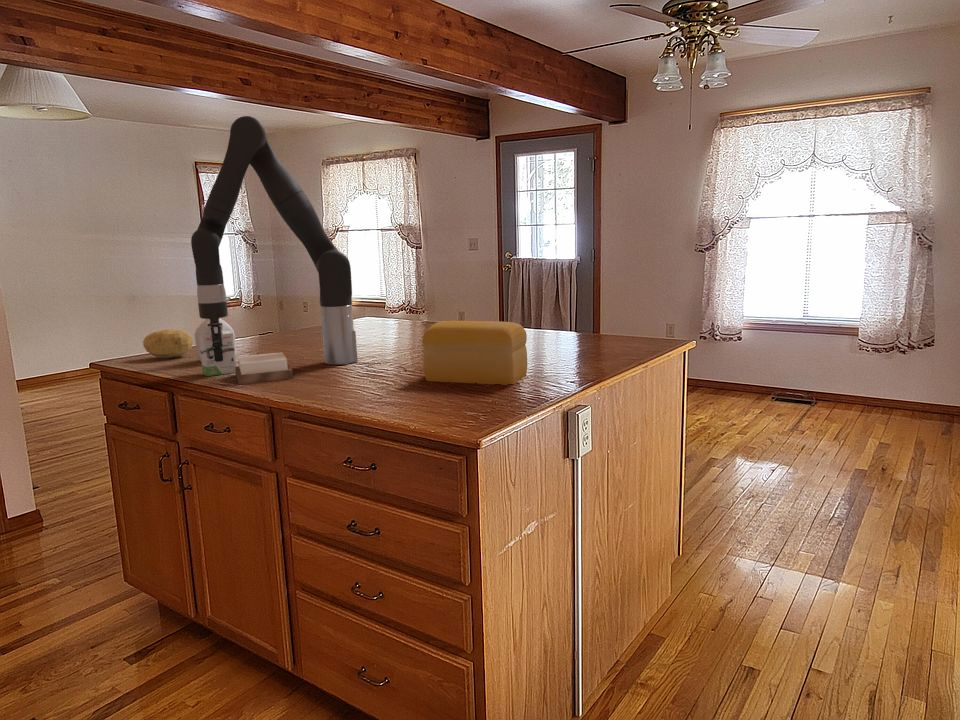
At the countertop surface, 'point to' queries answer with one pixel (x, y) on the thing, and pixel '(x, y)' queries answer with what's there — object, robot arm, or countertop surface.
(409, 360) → the countertop surface
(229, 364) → the ink box
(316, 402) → the countertop surface
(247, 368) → the cream slab
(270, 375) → the walnut slab
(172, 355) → the potato
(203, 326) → the soap bottle
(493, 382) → the bread
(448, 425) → the countertop surface
